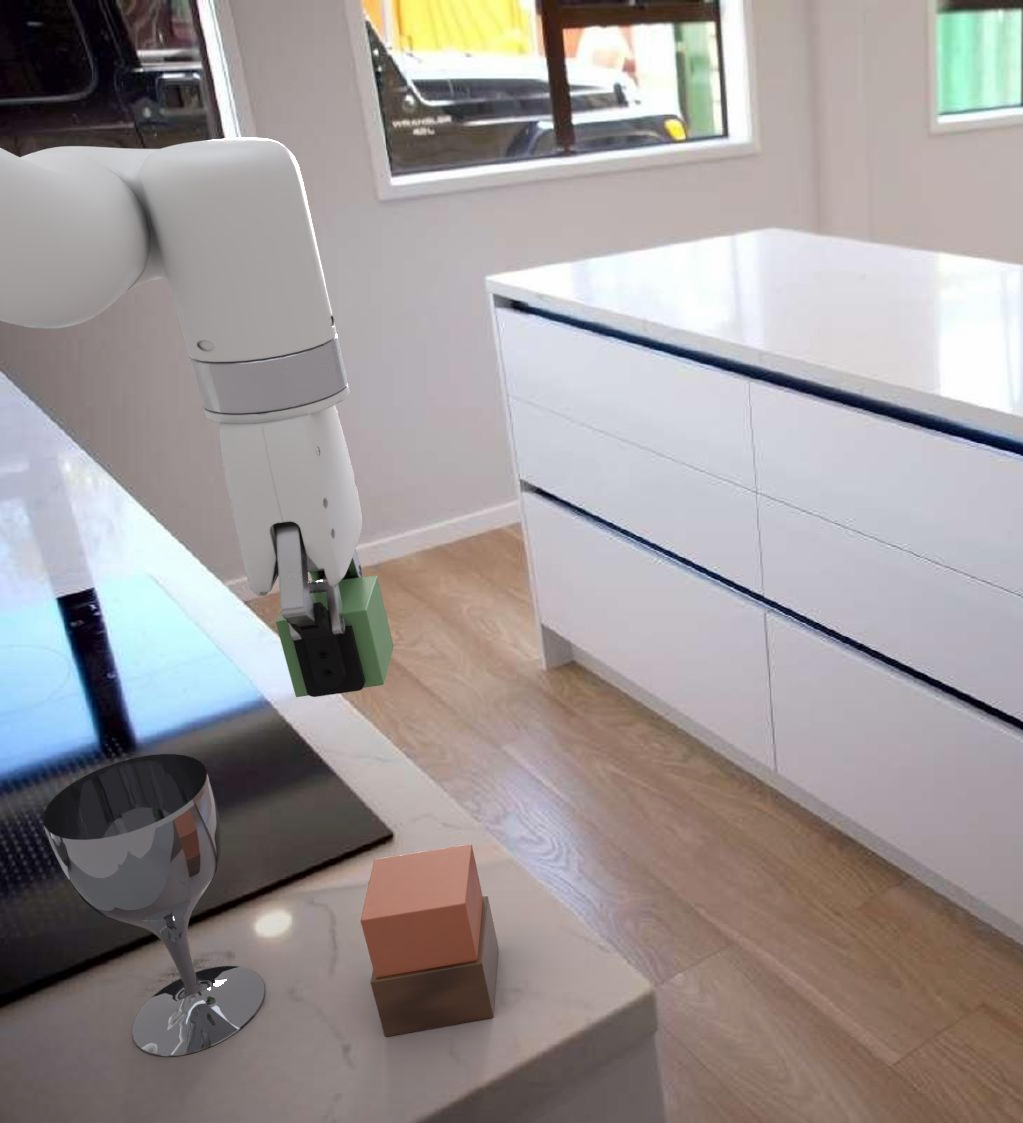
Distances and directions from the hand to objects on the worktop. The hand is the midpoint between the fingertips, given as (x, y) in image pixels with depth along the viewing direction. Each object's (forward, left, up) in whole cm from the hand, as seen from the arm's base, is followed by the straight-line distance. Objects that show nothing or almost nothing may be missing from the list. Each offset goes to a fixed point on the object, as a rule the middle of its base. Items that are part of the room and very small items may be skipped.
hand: (344, 665), depth 77 cm
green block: (0, 0, 0) cm, 0 cm away
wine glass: (-10, -9, -17) cm, 21 cm away
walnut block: (+4, -11, -17) cm, 20 cm away
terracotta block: (+4, -11, -13) cm, 17 cm away
